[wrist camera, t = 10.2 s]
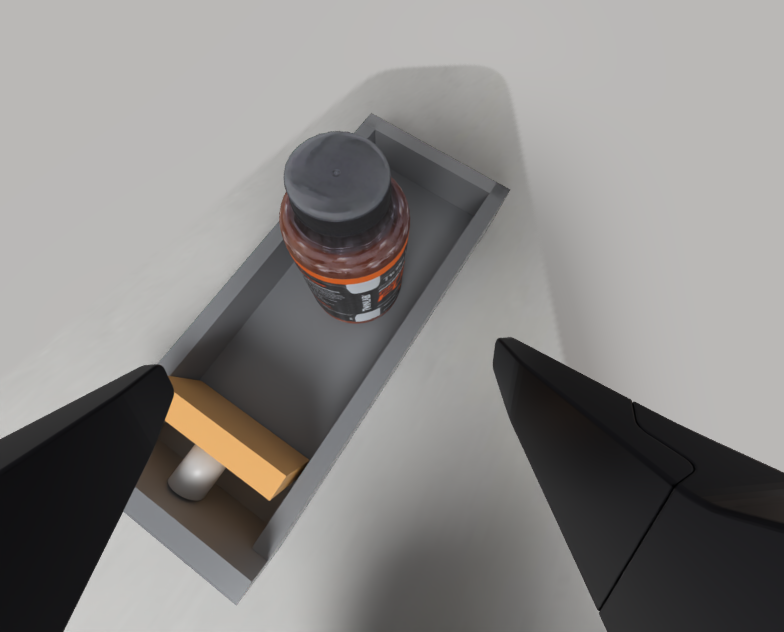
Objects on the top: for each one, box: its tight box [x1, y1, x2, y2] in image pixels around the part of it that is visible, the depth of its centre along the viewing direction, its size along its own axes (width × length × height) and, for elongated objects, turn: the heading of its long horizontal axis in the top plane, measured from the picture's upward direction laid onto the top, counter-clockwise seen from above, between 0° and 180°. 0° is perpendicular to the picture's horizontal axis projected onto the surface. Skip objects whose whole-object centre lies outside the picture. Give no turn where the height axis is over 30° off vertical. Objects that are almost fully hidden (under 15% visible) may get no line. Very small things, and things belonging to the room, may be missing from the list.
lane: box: [123, 113, 510, 605], centre depth 21 cm, size 26×11×6 cm, turn 147°
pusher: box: [165, 376, 309, 501], centre depth 18 cm, size 4×8×5 cm, turn 57°
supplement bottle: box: [279, 131, 410, 324], centre depth 18 cm, size 6×6×11 cm
